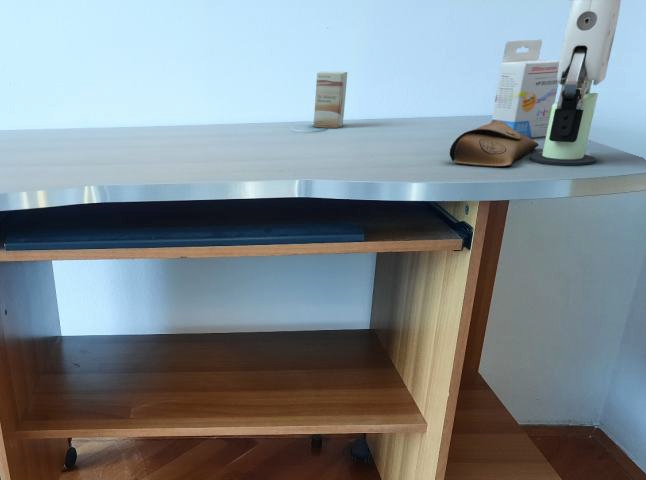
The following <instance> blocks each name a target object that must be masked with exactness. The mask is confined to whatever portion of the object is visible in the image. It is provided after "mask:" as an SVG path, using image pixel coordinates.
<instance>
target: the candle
mask: <svg viewBox="0 0 646 480" xmlns="http://www.w3.org/2000/svg"><path fill="white" fill-rule="evenodd" d="M598 96H599V93H598V92H590V93H589V94H585V96H584V100H583V104H582V108H581V110H583V115H582V119H581V123H580V128H579V132H578V137H577V140H576V141H575V142H559V141H550V140H549V137H550V132H551V127H552V122H553V118H554V113H555V109H557V104H558V101H555V103H554V104H553V105H552V110H551V115H550V119H549V124H548V129H547V134H546V136H545V140H544V144H543V149H542V153H543V154H542V156H543V157H545V158H549V159H556V160H578V159H581V158H583V156H584V155H585V153H586V152H585V151H586V147H587V144H588V139H589V136H590V135H589V133H590V130H591V126H592V122H593V118H594V114H595V109H596V104H597V100H598ZM578 98H579V97H578Z"/></svg>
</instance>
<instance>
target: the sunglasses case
mask: <svg viewBox="0 0 646 480" xmlns="http://www.w3.org/2000/svg"><path fill="white" fill-rule="evenodd" d="M539 146H540V144H539V143H538V142H537V141H536V140H535V139H533V138H529V137H526V136H524V135H522V134H519V133H518V132H516V131H515V130H513V129H512V128H511V127H509V126H508V125H507V124H505V123H503V122H502V121H499V120H494V121H492V120H491V122H490V123H487V124H484V125H482V126H479V127H476V128H474V129H470V130H467V131H464V132H463V133H461V134H460V135H459V136H458V137H457V138H456V139H455V140H454V141H453V143H452V144H451V145H450V148H449V157H450V159H451V161H452V162H453V163H454V164H458V165H459V164H460V165H465V166H472V167H491V168H493V167H508V166H510V167H511V166H512V165H513V163H514V162H515V161H516V160H518V159H519V158H521V157H523V156H525V155H527V154H528V153H530V152H532V151H533V150H535V149H536V148H538V147H539Z"/></svg>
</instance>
